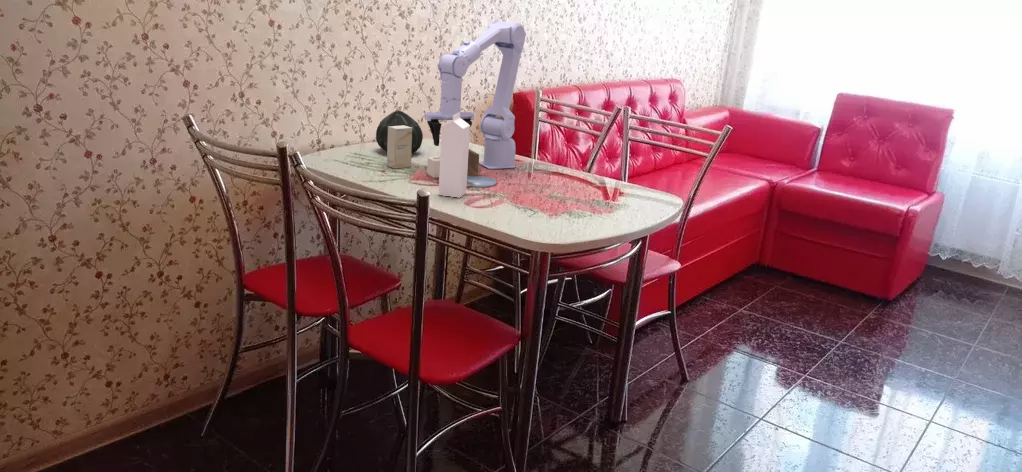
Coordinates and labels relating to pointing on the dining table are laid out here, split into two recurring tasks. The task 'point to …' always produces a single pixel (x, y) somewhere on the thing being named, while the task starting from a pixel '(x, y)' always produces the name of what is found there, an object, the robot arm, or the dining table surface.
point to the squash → (398, 120)
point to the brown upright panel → (473, 164)
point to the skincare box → (399, 146)
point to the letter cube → (433, 166)
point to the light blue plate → (481, 181)
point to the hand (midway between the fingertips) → (448, 144)
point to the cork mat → (467, 184)
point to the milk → (454, 157)
